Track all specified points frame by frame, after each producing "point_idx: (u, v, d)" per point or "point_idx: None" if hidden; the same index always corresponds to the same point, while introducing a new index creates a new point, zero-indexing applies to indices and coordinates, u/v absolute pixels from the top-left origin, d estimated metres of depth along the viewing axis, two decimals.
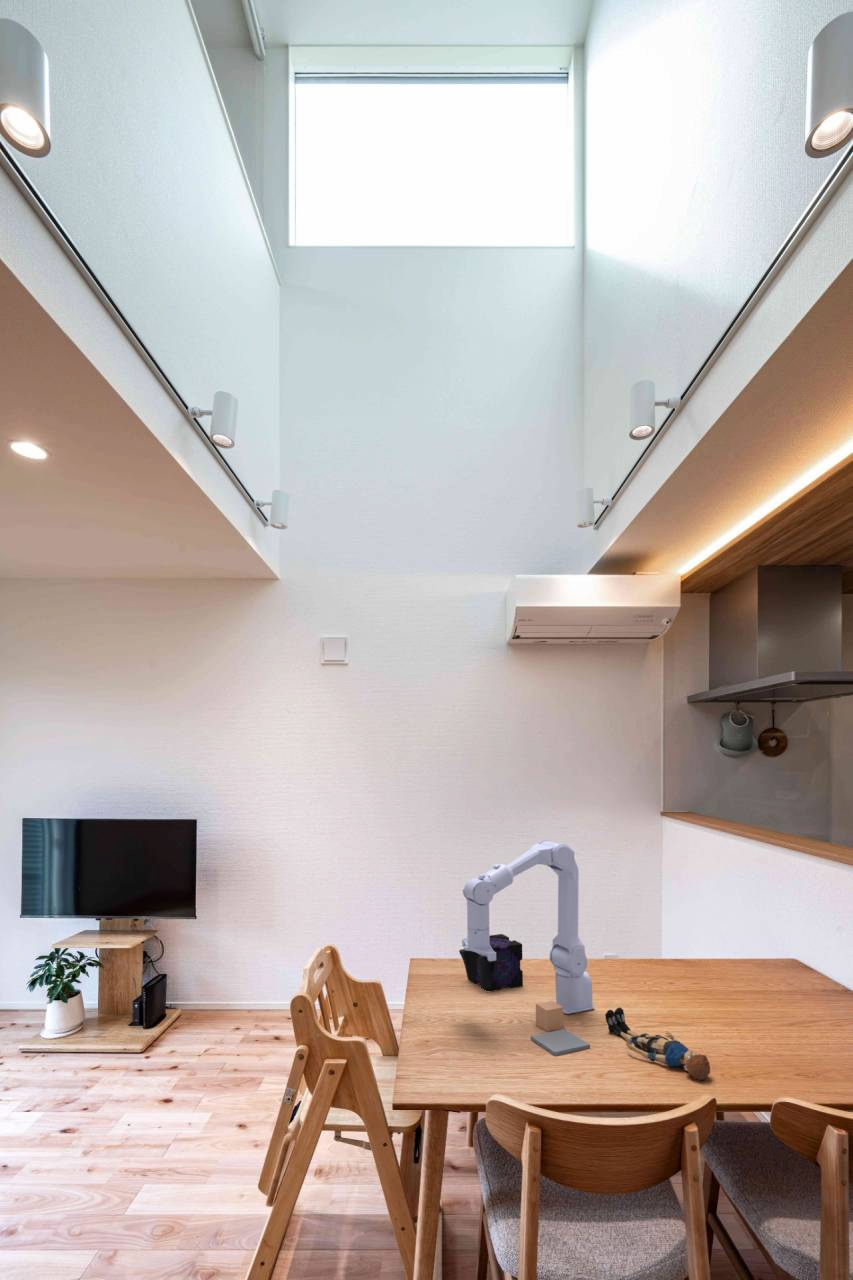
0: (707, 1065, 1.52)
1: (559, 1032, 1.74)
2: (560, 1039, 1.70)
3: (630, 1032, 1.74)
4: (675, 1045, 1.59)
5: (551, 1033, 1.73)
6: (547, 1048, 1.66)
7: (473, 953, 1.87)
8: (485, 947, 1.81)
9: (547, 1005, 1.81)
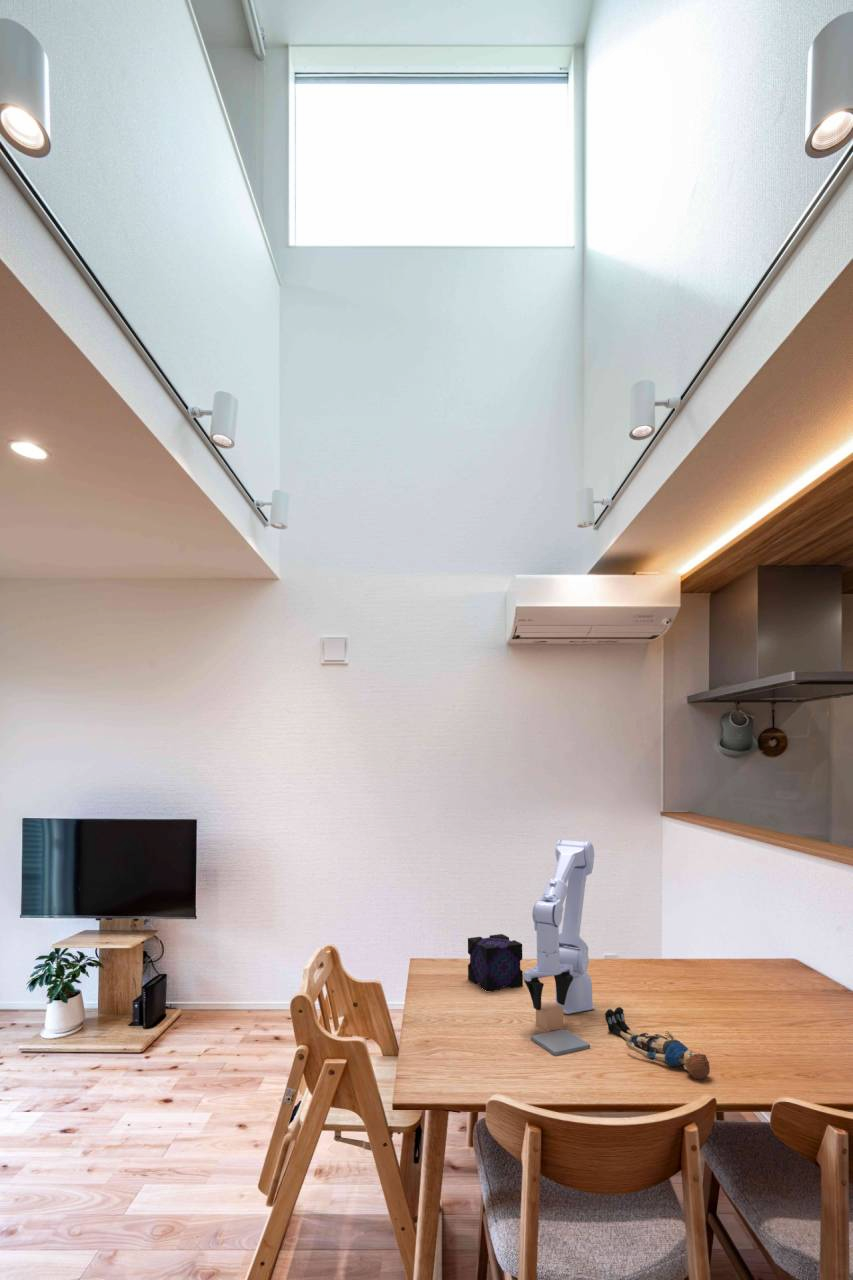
0: (707, 1064, 1.52)
1: (559, 1032, 1.74)
2: (560, 1039, 1.70)
3: (630, 1032, 1.74)
4: (675, 1044, 1.59)
5: (551, 1033, 1.73)
6: (547, 1048, 1.66)
7: (561, 978, 1.83)
8: (540, 969, 1.81)
9: (547, 1005, 1.81)
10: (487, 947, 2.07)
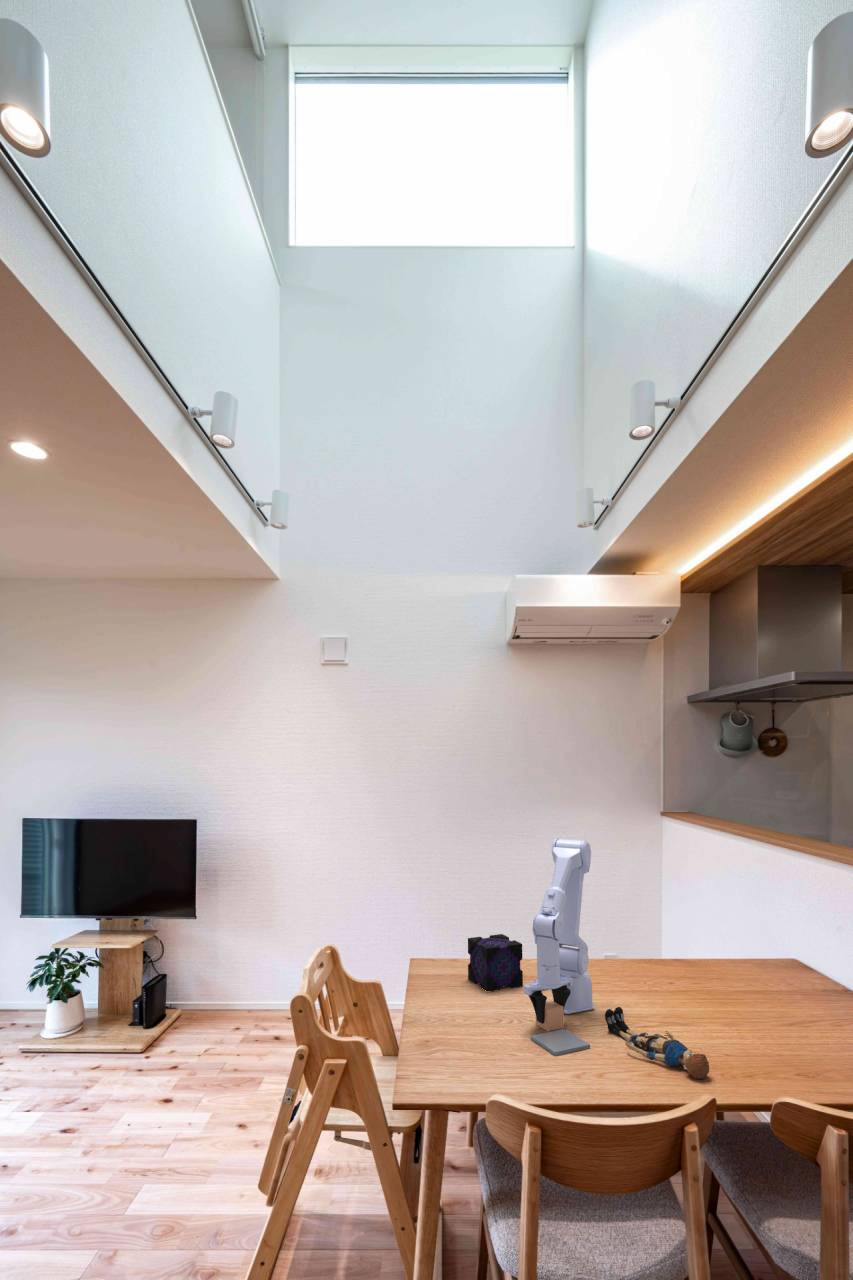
0: (706, 1064, 1.52)
1: (559, 1032, 1.74)
2: (560, 1039, 1.70)
3: (629, 1031, 1.74)
4: (674, 1044, 1.59)
5: (551, 1033, 1.73)
6: (547, 1048, 1.66)
7: (558, 992, 1.82)
8: (540, 983, 1.80)
9: (547, 1004, 1.81)
10: (487, 947, 2.07)
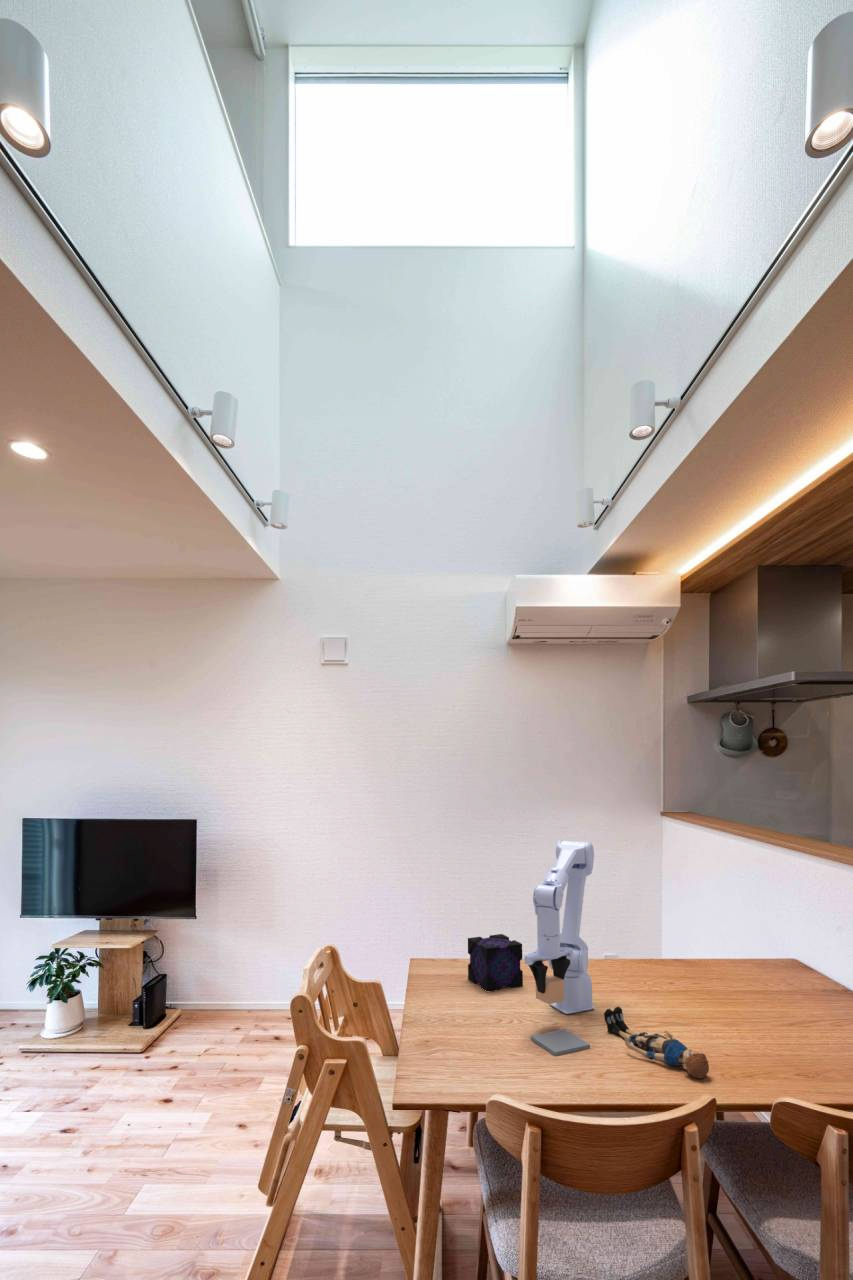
0: (706, 1064, 1.52)
1: (559, 1032, 1.74)
2: (560, 1039, 1.70)
3: (629, 1031, 1.74)
4: (674, 1044, 1.59)
5: (551, 1033, 1.73)
6: (547, 1048, 1.66)
7: (558, 963, 1.82)
8: (541, 953, 1.80)
9: (547, 978, 1.81)
10: (487, 947, 2.07)
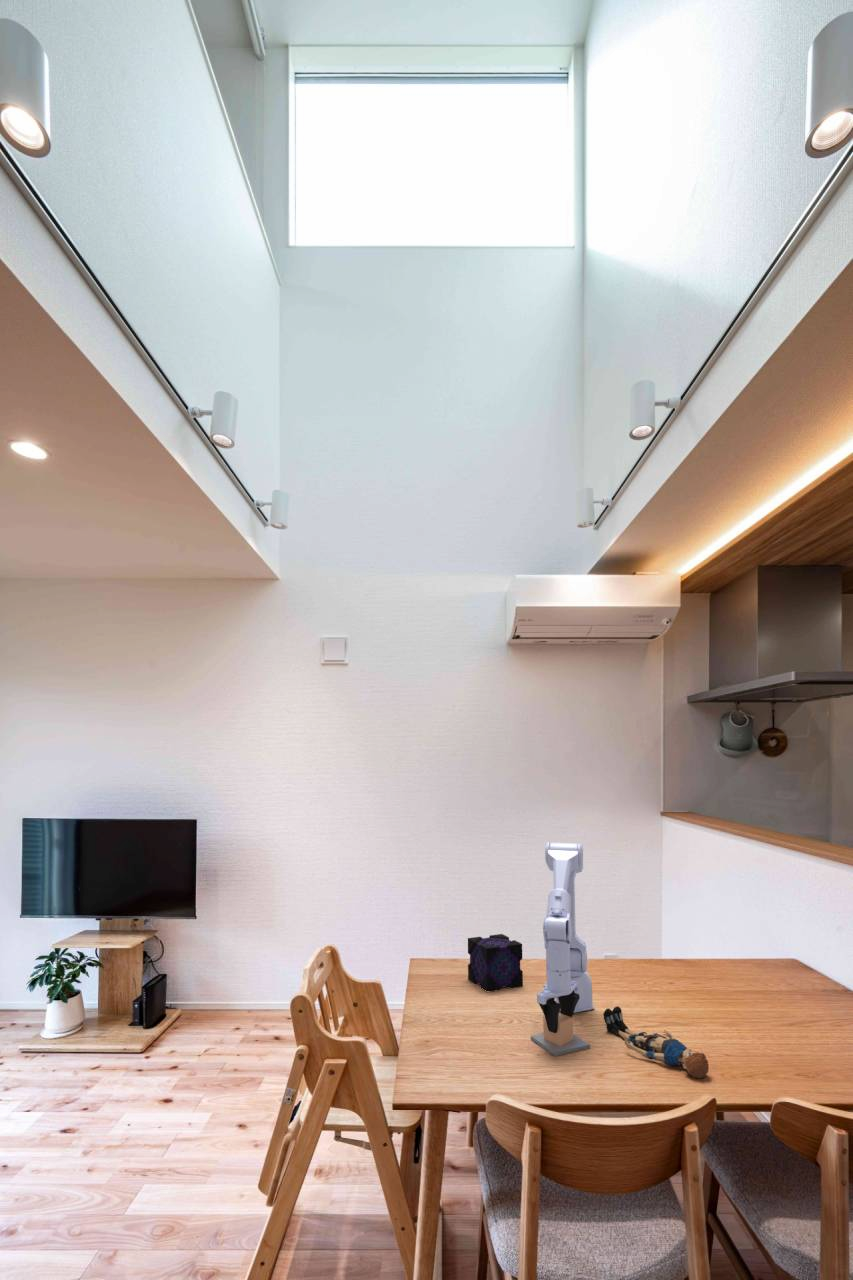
0: (706, 1063, 1.52)
1: None
2: None
3: (628, 1031, 1.74)
4: (673, 1043, 1.60)
5: None
6: (547, 1048, 1.66)
7: (567, 998, 1.73)
8: (552, 990, 1.69)
9: None
10: (487, 947, 2.07)
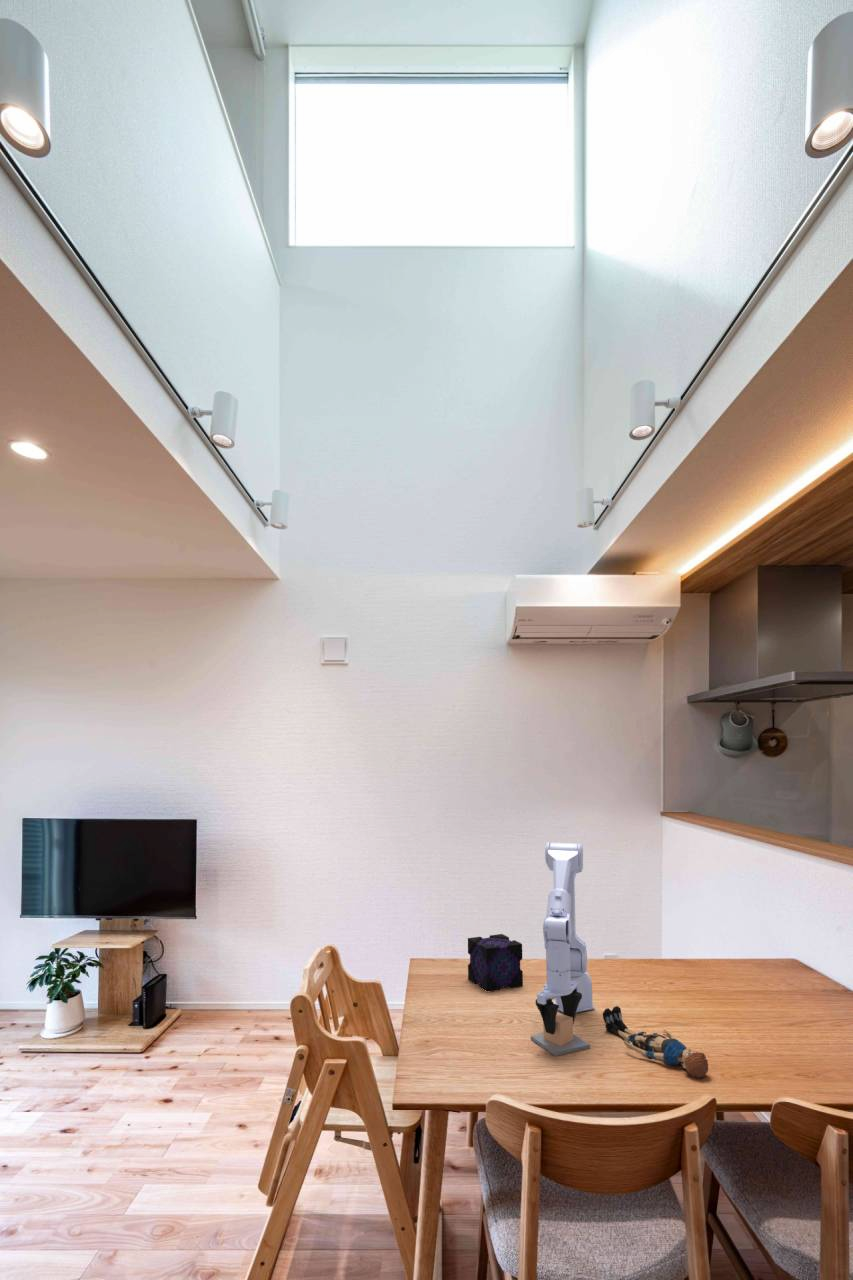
0: (705, 1063, 1.53)
1: None
2: None
3: (627, 1030, 1.74)
4: (673, 1043, 1.60)
5: None
6: (547, 1048, 1.66)
7: (569, 997, 1.73)
8: (553, 990, 1.69)
9: None
10: (487, 947, 2.07)
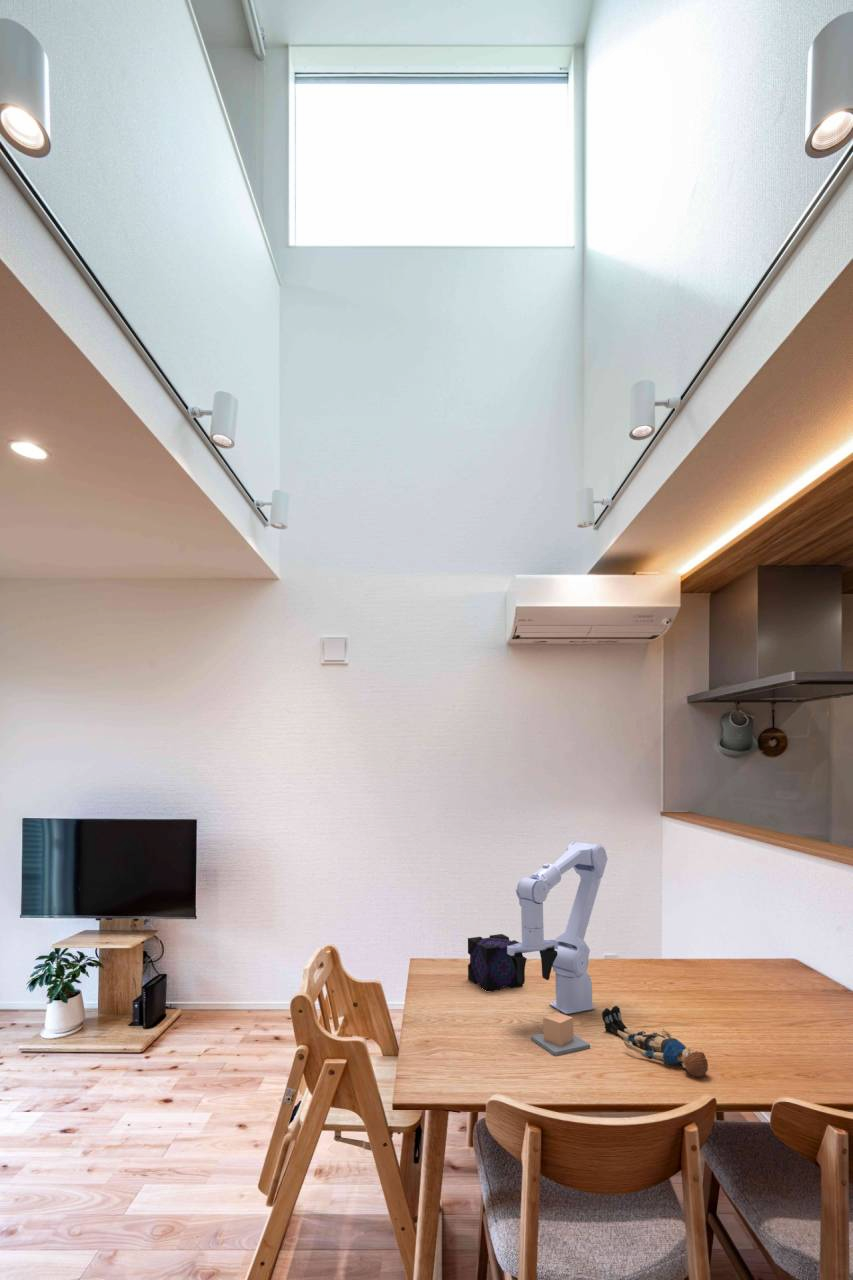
0: (705, 1062, 1.53)
1: None
2: None
3: (627, 1030, 1.75)
4: (673, 1043, 1.60)
5: None
6: (547, 1048, 1.66)
7: (546, 954, 1.86)
8: (524, 944, 1.84)
9: (555, 1017, 1.71)
10: (487, 947, 2.07)
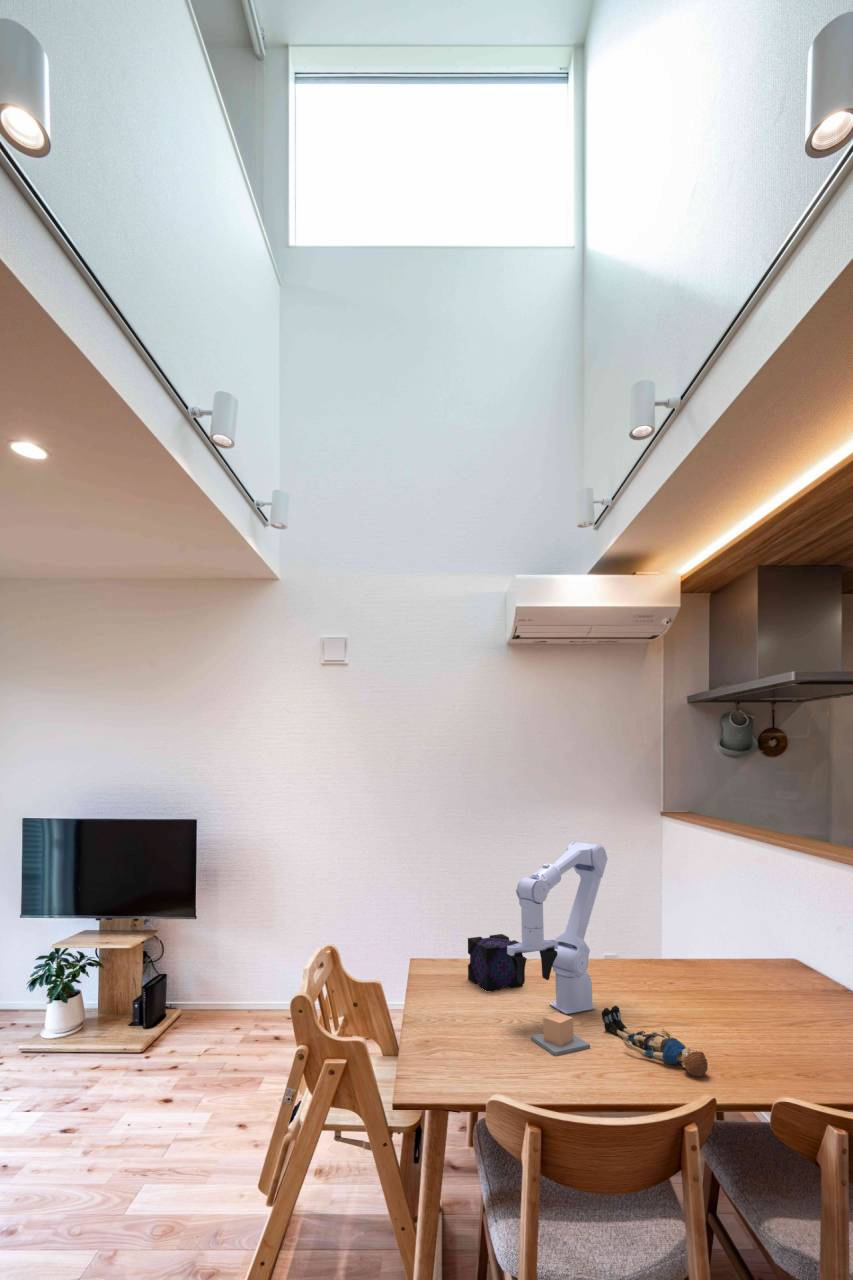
0: (705, 1062, 1.53)
1: None
2: None
3: (626, 1030, 1.75)
4: (672, 1042, 1.60)
5: None
6: (547, 1048, 1.66)
7: (546, 954, 1.86)
8: (524, 944, 1.84)
9: (555, 1017, 1.71)
10: (487, 947, 2.07)
